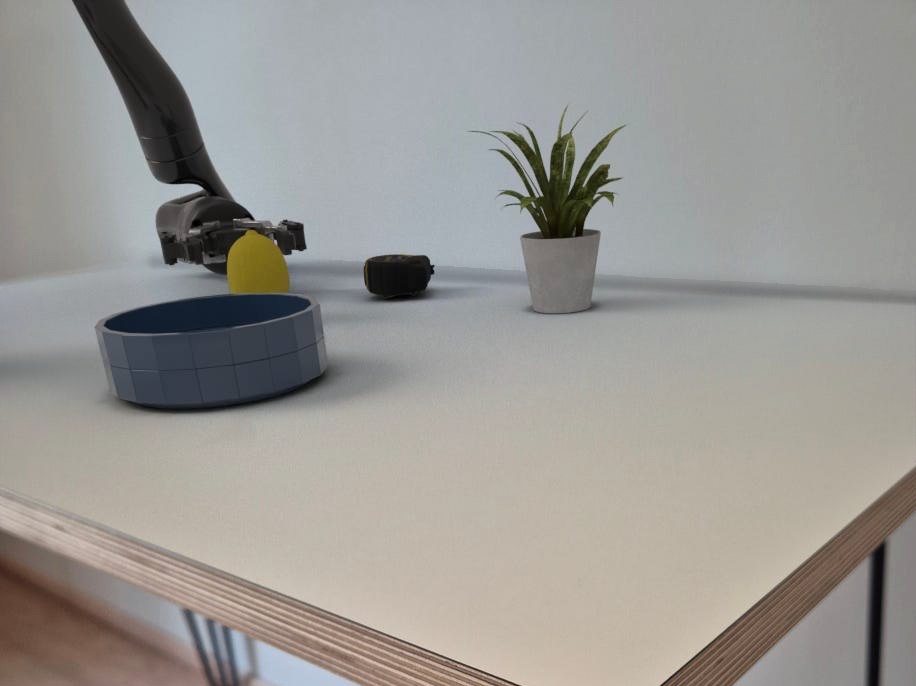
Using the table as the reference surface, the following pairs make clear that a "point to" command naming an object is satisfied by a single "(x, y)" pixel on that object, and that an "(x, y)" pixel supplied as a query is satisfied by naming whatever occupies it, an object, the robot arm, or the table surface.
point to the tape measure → (397, 274)
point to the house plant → (560, 222)
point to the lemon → (256, 266)
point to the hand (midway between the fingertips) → (243, 248)
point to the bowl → (213, 349)
